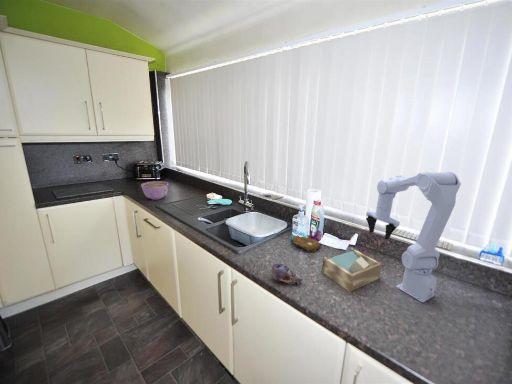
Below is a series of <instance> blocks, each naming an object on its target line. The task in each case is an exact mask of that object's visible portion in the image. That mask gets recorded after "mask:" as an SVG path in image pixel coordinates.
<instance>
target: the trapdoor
mask: <svg viewBox="0 0 512 384" xmlns="http://www.w3.org/2000/svg"><path fill="white" fill-rule="evenodd" d="M329 259H330V260H331V261H333V262H334V263H336V264H337V265H339V266H341V267H342V268H344V269H345V270H347V271H348V272H350V273H352V274H353V272H352V271H351V270H350V269H349V268H350V266H351V265H352V264H353V263H354V262H355V261H356V260H357V259H358V257H357V255H356V254H355V253H354V252H353V251H350V250H349V251H347V252H345V253H341V254H339V255H335V256H333V257H329Z"/></svg>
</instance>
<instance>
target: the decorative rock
mask: <svg viewBox="0 0 512 384" xmlns="http://www.w3.org/2000/svg"><path fill="white" fill-rule="evenodd" d="M291 239H292V241H293V245H296V246H298V247H300V248H303V249H304V250H305V251H306V252H308V253H309V252H314V253H316V252H317V251H319V249H320V247H321V244H322V243H321V242H319V241H317V240H315V239H312V238H310V237H307V238H306V236H304V237H299V236H298V235H293V236H292V238H291Z"/></svg>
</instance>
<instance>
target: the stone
mask: <svg viewBox="0 0 512 384" xmlns="http://www.w3.org/2000/svg"><path fill="white" fill-rule="evenodd" d="M368 265H369V264H368V263H367V262H366V261H365V260H364V259H363V258H362V257H360V258H358V259H357V260H356V261H355V262H354V263H353V264H352V265H351V266H350V268H349V269H350V270H351V271H352V272H353V273H356V272H358V271H360V270H363V269H365V268H367V266H368Z"/></svg>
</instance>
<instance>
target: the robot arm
mask: <svg viewBox="0 0 512 384" xmlns="http://www.w3.org/2000/svg"><path fill="white" fill-rule="evenodd" d="M461 184H462V183H461V182H460V179H459V176H458V175H456V173H455V172H450V171H449V172H429V171H424V172H417V174H414V175H411V176H408V177H405V176H403V175H396V176H395V178H388V180H384V179H381V180H379V181H378V182H377V185H376V190H377V193H378V197H377V204H376V208H375V212H373V211H370V210H369V211H366V214H365V216H366V218H365V220H366V222H367V225H368V231H369V233H370V234H372V233H374V231H375V228H376V223H377V221H381V222H383V223H386V224H385V235H384V240H386V241H388V240H389V239H390V238H391V236H392V234H393V232H394V231H395V230H396V229H397V228H398V227H399V226H400V224H401V222H400V221H399V220H396V219H394V218H392V217H391V214H392V207H393V203H394V202H393V201H394V199H395V197H396V195H397V194H398V193H400V192H404V191H407V190H409V187H413V186H416V187H418V189H419V190H420V192H421V193H422V195H423V196H424V197H425V198H426V200H427V201H429V202H431V205H430V208H429V210H428V212H427V215H426V217H425V220H424V222H423V224H422V227H421V229H420V232H419V235H418V237H417V239H416V242H415V243H412V244H411V245H410V246H408V247H407V249H406V250H405V251H404V252H403V253H402V255H401V262H402V265H403V267H405V268H404V273H403V277H402V282H401V283H399V284H397V285H396V286H395V287H396V288H397V289H399V290H400V291H402V292H403V293H405V294H407V295H409V296H411V298H413V299H416V300H418V301H419V302H420V303H425V302H427V301H428V300H430V299H431V298H433V297H435V292H436V291H435V290H436V287H437V283H438V278H437V277H436V276H434V275H433V274H432V273H433V270H435V269H437V268H438V266H439V257H440V256H441V254H440V252H439V251H438V250H437V249H436V247H437V245H438V244H439V242H440V241H439V240H440V238H441V237H442V234H443V232H444V230H445V228H446V226H447V223H448V222H449V219H450V217H451V215H452V212H453V210H454V208H455V207H456V203H457V202H456V199H457V194H458V191H459V189H460V187H461Z"/></svg>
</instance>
